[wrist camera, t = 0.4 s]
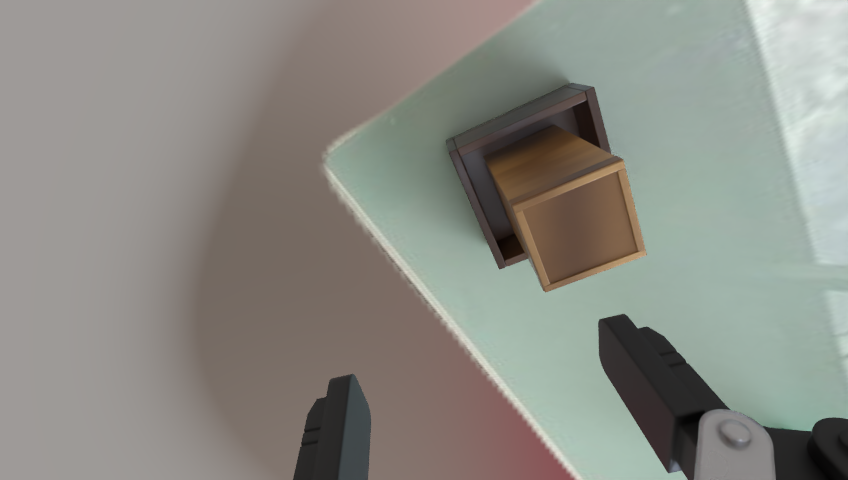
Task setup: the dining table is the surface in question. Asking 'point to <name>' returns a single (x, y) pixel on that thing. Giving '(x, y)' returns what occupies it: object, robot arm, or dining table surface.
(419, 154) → the dining table surface
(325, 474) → the robot arm
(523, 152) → the tall wooden box
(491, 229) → the wide basket
